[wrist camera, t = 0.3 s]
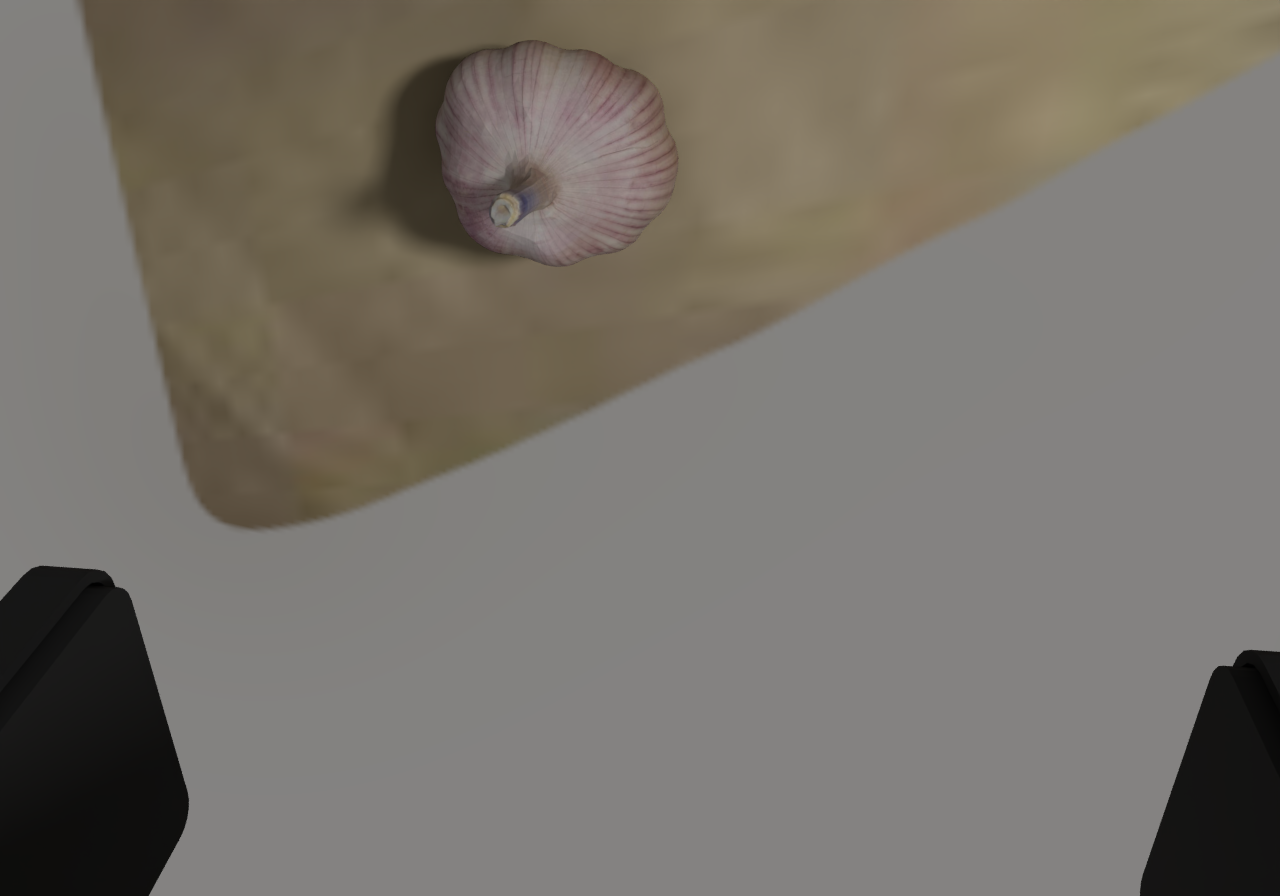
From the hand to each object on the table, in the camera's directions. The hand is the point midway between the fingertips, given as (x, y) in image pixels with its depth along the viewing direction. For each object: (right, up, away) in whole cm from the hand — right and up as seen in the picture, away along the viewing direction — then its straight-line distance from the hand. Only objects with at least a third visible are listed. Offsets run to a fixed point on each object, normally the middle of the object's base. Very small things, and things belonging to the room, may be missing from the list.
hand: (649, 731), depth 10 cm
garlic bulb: (-2, +13, +28) cm, 31 cm away
